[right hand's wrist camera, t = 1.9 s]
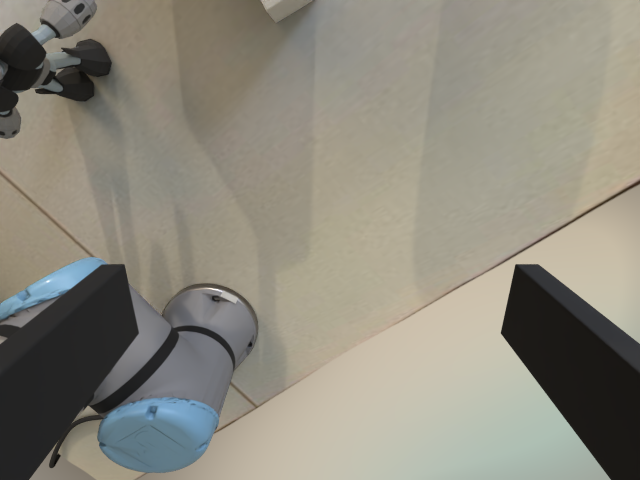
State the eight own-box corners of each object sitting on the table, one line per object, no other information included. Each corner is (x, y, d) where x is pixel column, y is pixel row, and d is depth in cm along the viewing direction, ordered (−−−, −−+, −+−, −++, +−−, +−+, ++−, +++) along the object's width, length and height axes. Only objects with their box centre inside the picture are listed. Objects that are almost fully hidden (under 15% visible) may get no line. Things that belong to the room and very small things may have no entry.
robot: (64, 142, 50) (-89, 174, 32) (31, 115, 49) (-148, 132, 31) (146, 23, 45) (19, -22, 26) (111, -10, 44) (-47, -82, 25)
